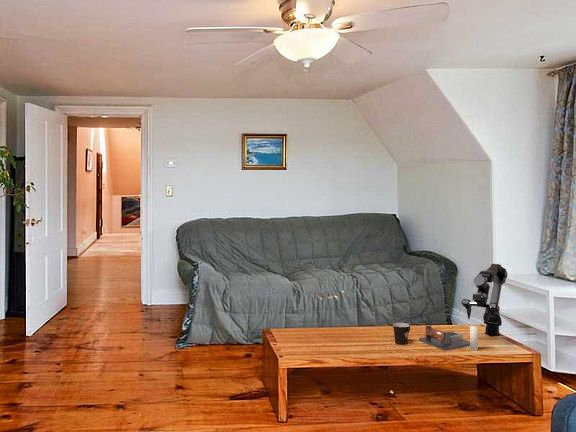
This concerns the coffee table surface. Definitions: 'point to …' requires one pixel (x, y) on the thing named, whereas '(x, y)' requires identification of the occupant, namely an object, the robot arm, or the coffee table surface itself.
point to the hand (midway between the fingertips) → (477, 320)
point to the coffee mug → (401, 333)
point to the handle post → (473, 337)
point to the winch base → (444, 339)
